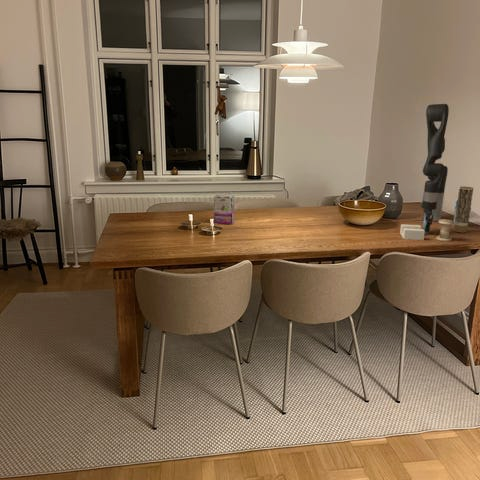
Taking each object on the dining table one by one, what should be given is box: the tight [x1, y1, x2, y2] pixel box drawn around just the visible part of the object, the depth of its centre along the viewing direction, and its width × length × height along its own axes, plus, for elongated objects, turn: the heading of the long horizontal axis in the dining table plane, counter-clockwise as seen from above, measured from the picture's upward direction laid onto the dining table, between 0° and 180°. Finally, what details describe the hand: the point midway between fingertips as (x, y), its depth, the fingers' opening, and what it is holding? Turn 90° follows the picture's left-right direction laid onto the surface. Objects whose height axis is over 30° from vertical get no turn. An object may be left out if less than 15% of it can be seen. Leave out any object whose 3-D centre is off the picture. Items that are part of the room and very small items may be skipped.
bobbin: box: [435, 218, 454, 242], centre depth 249 cm, size 8×8×10 cm
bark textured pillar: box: [453, 186, 474, 234], centre depth 261 cm, size 7×7×25 cm
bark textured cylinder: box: [452, 193, 472, 226], centre depth 275 cm, size 8×8×20 cm
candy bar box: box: [213, 194, 235, 225], centre depth 277 cm, size 11×5×16 cm, turn 76°
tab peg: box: [422, 217, 431, 235], centre depth 260 cm, size 4×4×9 cm
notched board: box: [399, 224, 425, 241], centre depth 254 cm, size 12×10×5 cm
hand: (426, 230), depth 261 cm, fingers open, 4 cm apart
